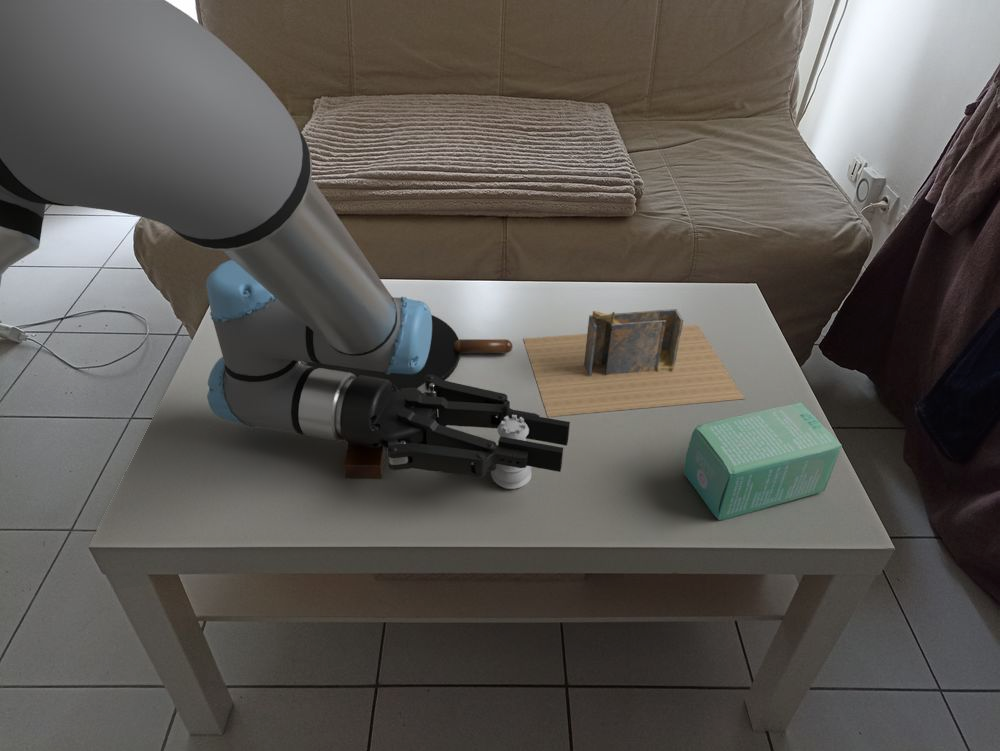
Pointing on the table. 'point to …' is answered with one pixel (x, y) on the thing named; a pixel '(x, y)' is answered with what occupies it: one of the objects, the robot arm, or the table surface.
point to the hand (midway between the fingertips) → (564, 446)
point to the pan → (434, 356)
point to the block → (364, 462)
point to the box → (760, 459)
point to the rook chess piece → (508, 474)
